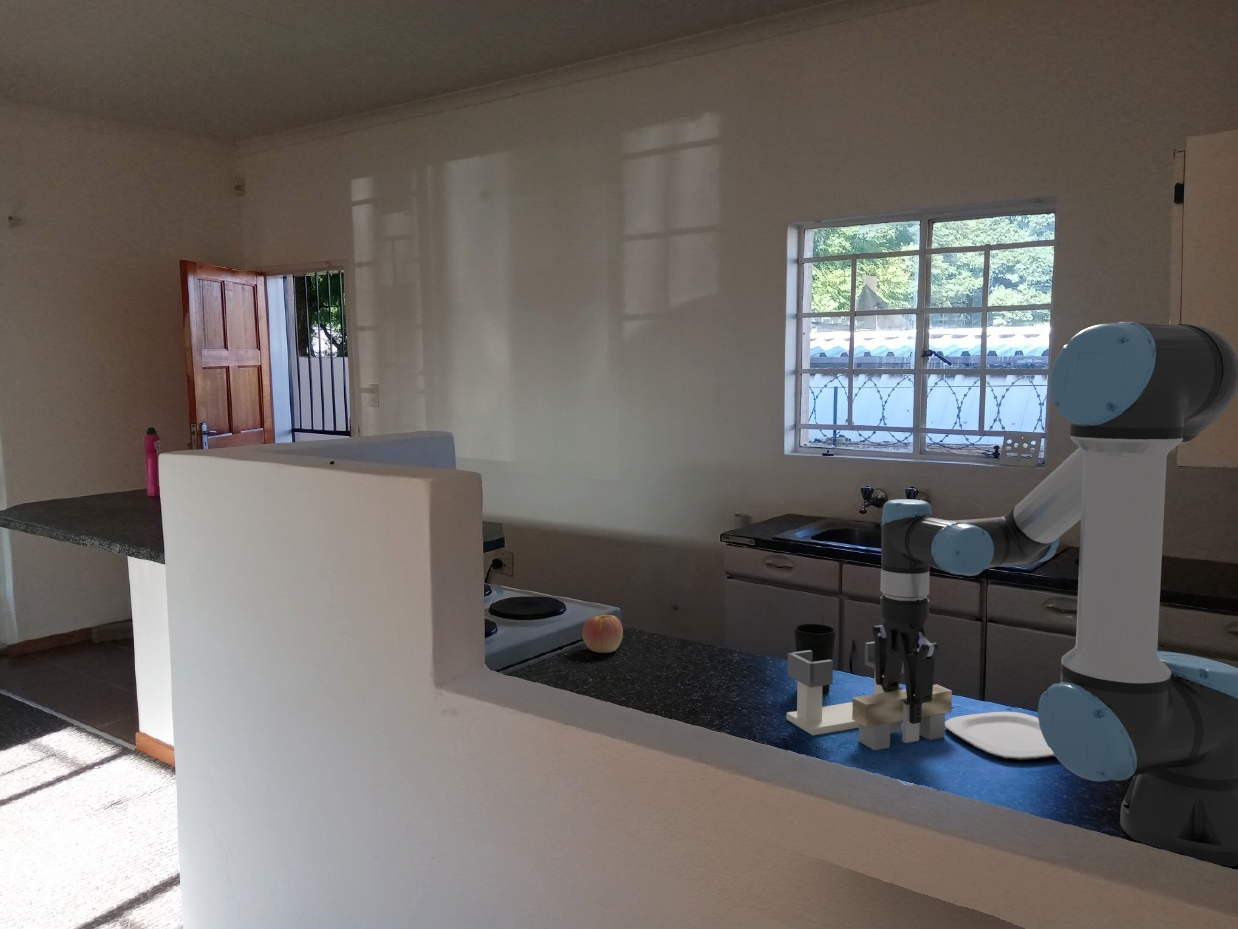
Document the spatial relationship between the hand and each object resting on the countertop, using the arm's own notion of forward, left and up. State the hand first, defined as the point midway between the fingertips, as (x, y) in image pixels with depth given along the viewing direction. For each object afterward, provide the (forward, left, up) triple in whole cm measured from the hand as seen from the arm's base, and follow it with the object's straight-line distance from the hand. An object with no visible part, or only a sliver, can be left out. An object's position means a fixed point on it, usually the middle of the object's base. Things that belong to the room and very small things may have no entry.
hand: (901, 735), depth 148 cm
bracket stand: (+11, +3, -1) cm, 11 cm away
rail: (0, 0, +3) cm, 3 cm away
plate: (-7, -16, -1) cm, 18 cm away
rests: (0, 0, -1) cm, 1 cm away
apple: (+66, +28, -1) cm, 72 cm away
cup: (+26, 0, -1) cm, 26 cm away
